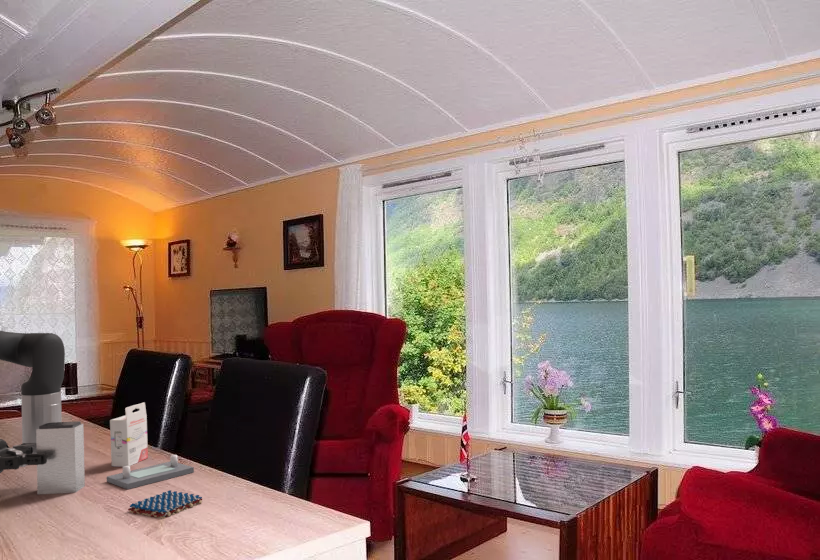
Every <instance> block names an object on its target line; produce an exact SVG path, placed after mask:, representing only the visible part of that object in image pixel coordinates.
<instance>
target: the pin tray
mask: <svg viewBox="0 0 820 560" xmlns="http://www.w3.org/2000/svg"><path fill="white" fill-rule="evenodd" d="M169 460H170V461H167V462H162V463H158V464H153V465H150V466H149V465H148V466H145V467H141V468H138V469H137V468H136V469H133V470H131V466H123V467H121V468H122V472H120V473H116V474H111V475H107V476H106V483H110V484H112V485H115V486H117V487H121V488H122V489H124V490H131V489H134V488H138V487H142V486H147V485H151V484H155V483H158V482H161V481H166V480H170V479H173V478H174V479H175V478H177V477H181V475H182V476H184V475H188V474H192V473H195V467H193V466H192V465H191V466H190V465H188V464H187V465H186V464H184V463H181V462H178V455H177V454H171V455H170V459H169Z"/></svg>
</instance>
